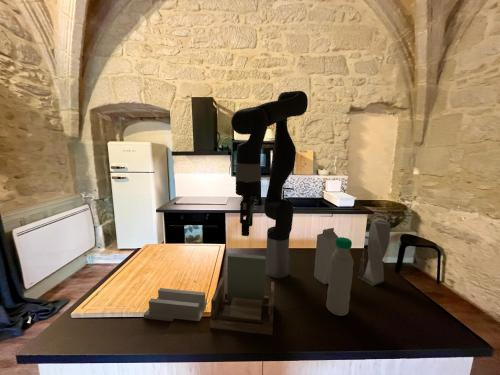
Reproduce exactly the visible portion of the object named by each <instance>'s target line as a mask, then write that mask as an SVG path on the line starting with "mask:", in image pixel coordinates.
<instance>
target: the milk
mask: <svg viewBox="0 0 500 375" xmlns="http://www.w3.org/2000/svg"><path fill="white" fill-rule="evenodd" d="M334 228H335V227H331V228H326V229H325V228H324V229H322V233H319V234H318V233H317V235H316V244H315V245H316V246H315V256H314V257H315V259H314V272H313V277H314V278H315V279H316V280H317V281H319V282H320V283H322V284H323V285H326V284H329V270H330V264H331V262H330V258H331V256H332V254H333V253H334V251H335V250H336V249H337V247H336V239H337V238H339V236H338V234H337V233H336V232H335V230H334Z"/></svg>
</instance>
